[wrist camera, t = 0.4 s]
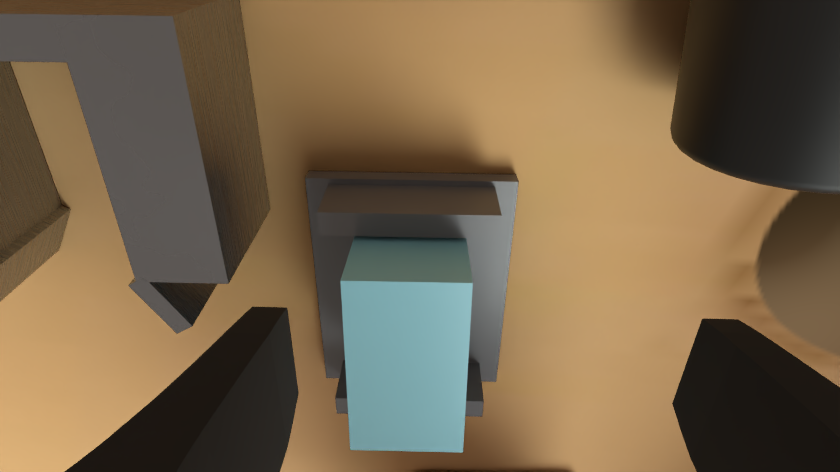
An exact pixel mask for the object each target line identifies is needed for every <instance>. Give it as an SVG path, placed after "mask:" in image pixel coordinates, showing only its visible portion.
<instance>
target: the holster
mask: <svg viewBox="0 0 840 472" xmlns="http://www.w3.org/2000/svg"><path fill="white" fill-rule="evenodd" d="M305 182H306V192H307V201H308V210H309V220H310V229H311V238H312V248H313V257H314V266H315V276H316V285H317V294H318V303H319V313H320V322H321V331H322V341H323V350H324V359H325V369H326V378H339V383H338V388H337V393H336V398H335V400H336V410H337V413H346V414H348V402H347V385H346V368H345V351H344V334H343V316H342V299H341V282H340V280H341V277H342V274H343V271H344V268H345V265H346V261H347V258H348V255H349V252H350V249H351V246H352V242H353V239H354V236H372V237H426V238H466V240H467V246H468V253H469V260H470V267H471V274H472V281H473V289H472V306H471V323H470V341H469V358H468V375H467V392H466V410H465V416H481V417H482V413H483V403H484V401H483V391H482V382H481V381H489V382H496V378H497V369H498V360H499V351H500V342H501V334H502V325H503V316H504V307H505V298H506V289H507V280H508V271H509V262H510V254H511V245H512V236H513V227H514V218H515V209H516V200H517V191H518V179H517V176H516V174H464V173H405V172H346V171H308V173H307V175H306V177H305Z"/></svg>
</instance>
